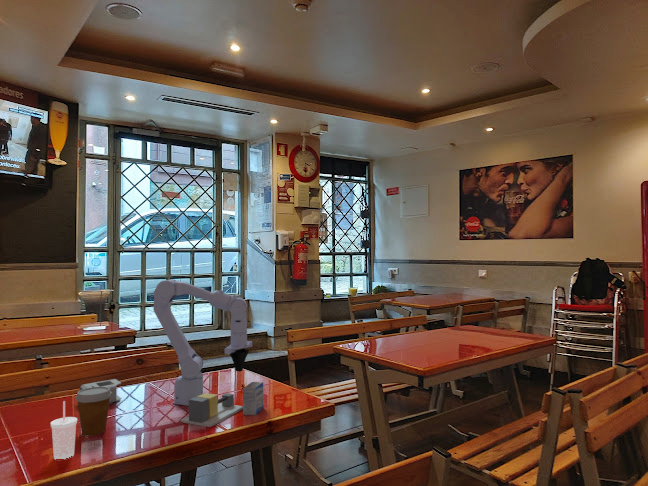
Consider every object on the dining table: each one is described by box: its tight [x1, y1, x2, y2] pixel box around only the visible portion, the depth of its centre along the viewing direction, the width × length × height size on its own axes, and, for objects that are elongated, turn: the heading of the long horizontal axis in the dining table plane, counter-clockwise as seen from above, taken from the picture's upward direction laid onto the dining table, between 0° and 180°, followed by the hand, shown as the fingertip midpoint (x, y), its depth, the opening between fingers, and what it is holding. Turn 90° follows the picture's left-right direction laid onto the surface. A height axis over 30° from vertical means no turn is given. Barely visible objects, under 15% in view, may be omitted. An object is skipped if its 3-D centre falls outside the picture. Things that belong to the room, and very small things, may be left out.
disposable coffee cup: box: [75, 387, 112, 437], centre depth 138 cm, size 10×10×12 cm
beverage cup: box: [50, 400, 78, 460], centre depth 122 cm, size 6×6×14 cm
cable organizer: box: [78, 378, 122, 405], centre depth 166 cm, size 7×12×12 cm
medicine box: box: [242, 381, 265, 416], centre depth 155 cm, size 8×4×9 cm, turn 168°
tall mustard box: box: [197, 392, 219, 418], centre depth 148 cm, size 5×4×6 cm
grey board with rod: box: [180, 393, 243, 428], centre depth 151 cm, size 11×18×7 cm, turn 156°
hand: (239, 370), depth 167 cm, fingers closed
